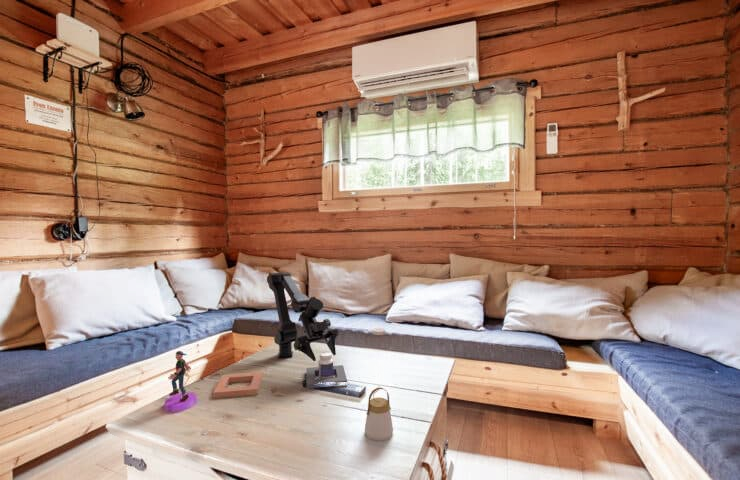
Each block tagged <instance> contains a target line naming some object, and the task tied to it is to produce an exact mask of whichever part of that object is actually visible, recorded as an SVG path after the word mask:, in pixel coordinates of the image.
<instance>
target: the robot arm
mask: <svg viewBox="0 0 740 480" xmlns="http://www.w3.org/2000/svg"><path fill="white" fill-rule="evenodd" d="M266 283H267V284H268V287H269V289H270V290H271V291H272V292H273V296H274V300H275V305H276V310H277V311H276V312H277V317H278V321H279V323H278V326H277V329H276V335H275V336H274V338H273V340H274V344H276V345H278V347H279V348H278V354H277V358H278V359H283V358H292V357H293V354H294V351H298V352H301V353H303V354H304V355H306V356H307V357H308V358H310V359H311V360H312V361H313V362H316V360H317V358H316V355H315V353H314V352H313V349H312V346H311V343H315V342H318V341H323V340H324V341H325V342H326V345H327V347H328V349H329V350H330V351H329V352H330V353H332V356H333V357H334V356H336V354H337V353H336V339H337V338H338V336H339V335H340V331H339V330H338V329H337V328H333V329H329V327H331V325H332V324H331V320H330V319H329V318H325V319H323V320H322V321H317V319H316V318H317V317H318V316H319V315H320V313H321V311H322V310H323V309H324V302H323V301H322V300H320V299H319V298H317V297H316V296H311V297H310V298H309V297H308V295H306V294H304V293H302V292H301V290H300V288H299V287H298V285H297V284H296V282H295V281H294V279H293V278H292V274H291V273H290V272H283V271H281V272H271V273H269V274H268V276H267V277H266ZM285 291H286V293H287V294H288V296H289V298H290V299H291V303H290V306H291V308H292V311H293V312H294V313H295V314H299V313H301V314H300V315H299V317H298V322H301V324H302V325H303V328H304V330H303V333H304V334H306V335H302V336H298V330H297V326H296V325H297V324H296V322H295V321H292V320H291V318H290V313H289V312H290V311H289V307H288V302H287V298H286V293H285ZM328 329H329V330H328ZM325 330H327V331H326V333H325ZM297 336H298V337H297ZM293 342H294V343H293ZM292 343H293V344H292ZM292 347H293V348H294V351H293V349H292Z"/></svg>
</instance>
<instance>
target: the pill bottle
mask: <svg viewBox="0 0 740 480" xmlns="http://www.w3.org/2000/svg"><path fill="white" fill-rule="evenodd" d="M332 357H333V354H332V352H331V351H325V352H321V353H320V354H319V360H318V367H319V375H318V379H319V378H320V379H327V378H334V374H333V366H334V359H332Z"/></svg>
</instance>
